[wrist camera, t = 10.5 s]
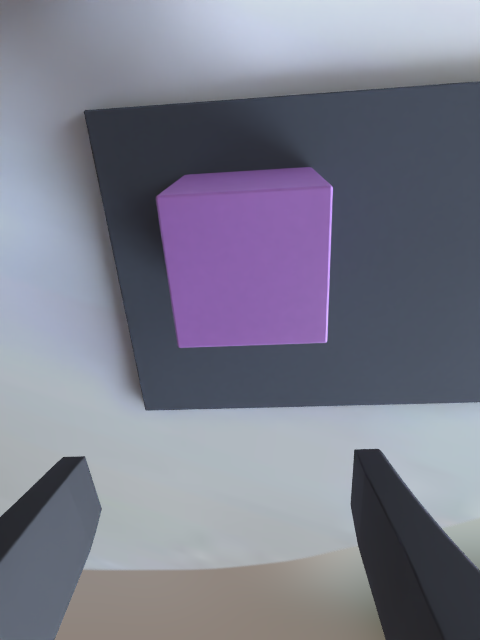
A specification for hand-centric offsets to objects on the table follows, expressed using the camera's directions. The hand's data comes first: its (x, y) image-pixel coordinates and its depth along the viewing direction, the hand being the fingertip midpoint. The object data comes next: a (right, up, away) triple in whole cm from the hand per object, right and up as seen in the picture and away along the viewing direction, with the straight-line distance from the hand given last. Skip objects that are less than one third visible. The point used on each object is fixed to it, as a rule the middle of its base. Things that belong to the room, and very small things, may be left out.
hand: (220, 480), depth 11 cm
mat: (+5, +6, +7) cm, 11 cm away
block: (+1, +8, +6) cm, 10 cm away
